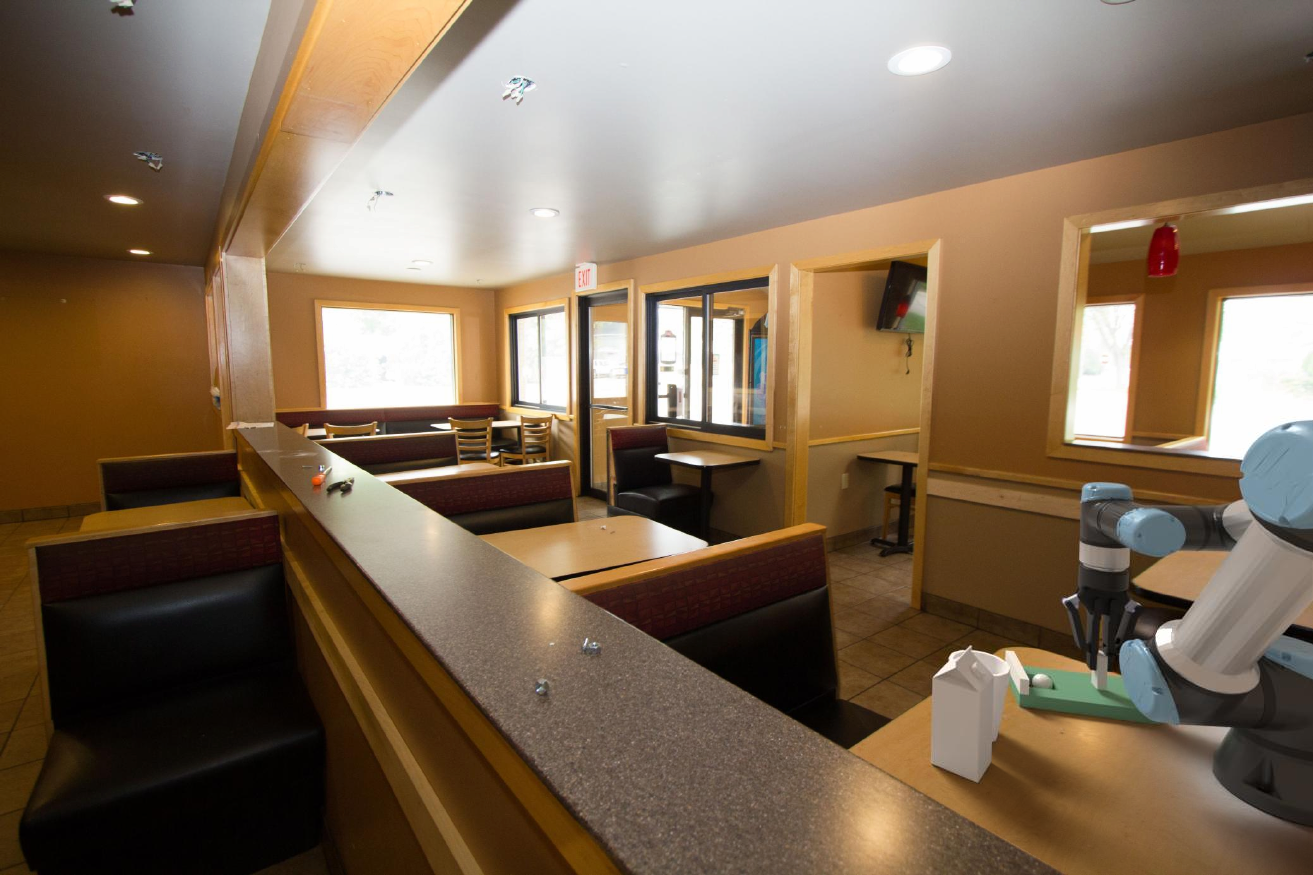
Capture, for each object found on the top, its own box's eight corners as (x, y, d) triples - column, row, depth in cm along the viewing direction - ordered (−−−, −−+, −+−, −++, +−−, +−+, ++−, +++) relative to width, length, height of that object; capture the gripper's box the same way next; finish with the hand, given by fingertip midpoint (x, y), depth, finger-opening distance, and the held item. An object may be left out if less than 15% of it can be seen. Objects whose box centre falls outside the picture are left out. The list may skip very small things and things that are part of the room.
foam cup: (946, 739, 104) (948, 669, 102) (948, 712, 112) (949, 646, 110) (1009, 754, 99) (1012, 680, 98) (1006, 724, 107) (1008, 656, 106)
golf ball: (1059, 692, 115) (1050, 676, 115) (1041, 698, 116) (1031, 682, 116) (1052, 684, 118) (1043, 668, 119) (1034, 690, 119) (1026, 674, 120)
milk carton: (930, 764, 97) (932, 654, 95) (946, 744, 102) (948, 639, 100) (977, 784, 92) (981, 668, 90) (991, 762, 97) (995, 652, 95)
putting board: (1160, 724, 106) (1162, 695, 105) (1019, 706, 113) (1020, 678, 112) (1131, 690, 117) (1132, 663, 116) (1004, 675, 124) (1005, 650, 124)
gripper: (1135, 561, 112) (1130, 680, 115) (1056, 557, 116) (1052, 673, 118) (1155, 574, 105) (1149, 700, 107) (1070, 569, 109) (1066, 692, 111)
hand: (1098, 686), depth 113 cm, fingers closed
